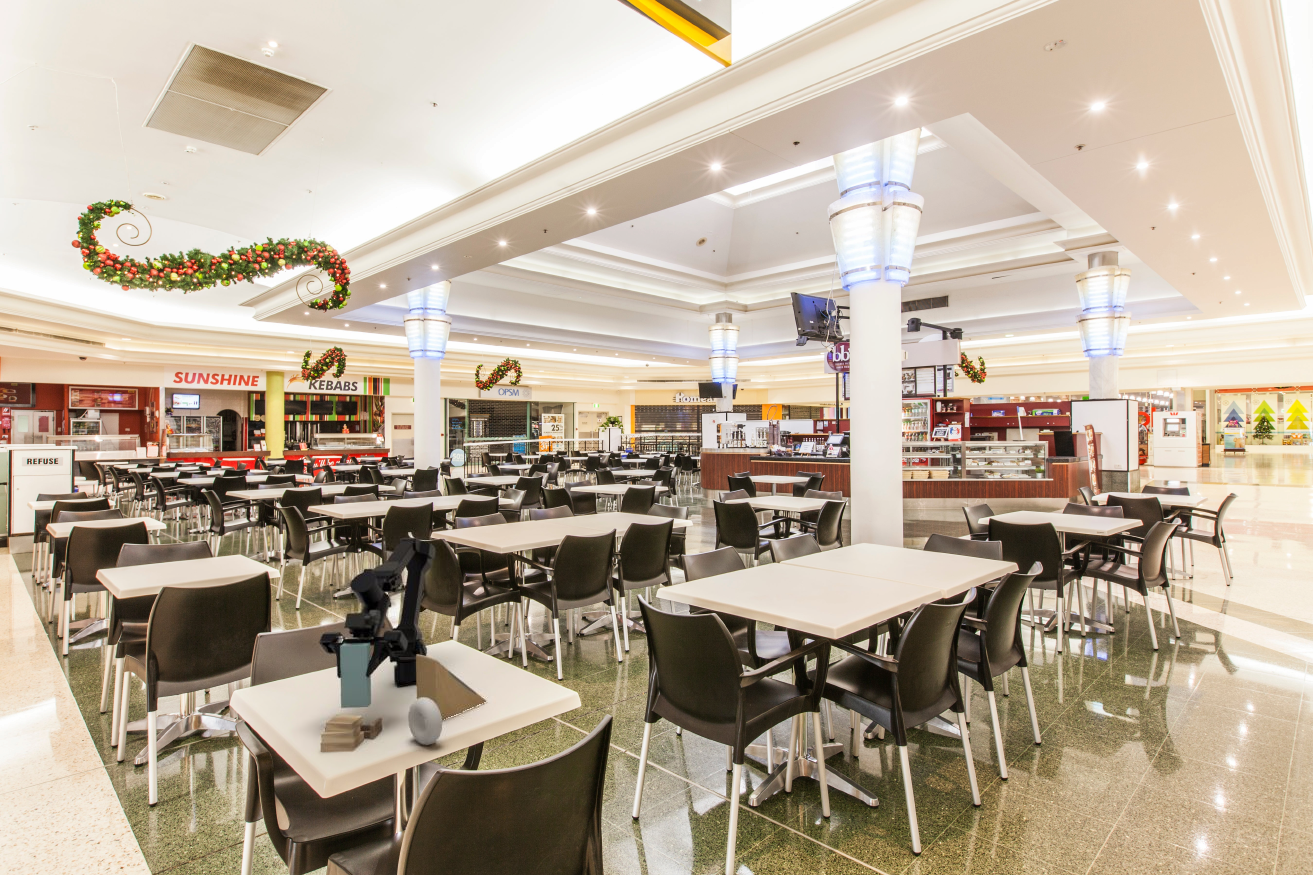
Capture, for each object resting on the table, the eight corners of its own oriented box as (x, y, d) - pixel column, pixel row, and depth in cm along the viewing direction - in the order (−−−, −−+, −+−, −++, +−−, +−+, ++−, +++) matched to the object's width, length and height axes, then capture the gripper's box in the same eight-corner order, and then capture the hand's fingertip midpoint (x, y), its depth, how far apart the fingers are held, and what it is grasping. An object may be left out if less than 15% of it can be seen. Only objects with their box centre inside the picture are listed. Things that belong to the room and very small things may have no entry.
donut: (405, 740, 140) (404, 695, 140) (419, 734, 143) (418, 690, 143) (432, 752, 134) (431, 705, 134) (446, 746, 137) (445, 700, 137)
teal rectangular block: (344, 704, 145) (343, 643, 145) (371, 703, 145) (370, 642, 146) (341, 707, 144) (340, 645, 144) (367, 707, 144) (366, 645, 144)
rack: (334, 731, 145) (334, 718, 145) (382, 730, 145) (382, 717, 146) (325, 740, 141) (325, 727, 141) (373, 739, 141) (373, 725, 141)
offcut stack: (332, 741, 141) (331, 715, 141) (364, 740, 141) (364, 714, 141) (319, 752, 135) (319, 725, 136) (352, 752, 135) (352, 724, 136)
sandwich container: (490, 702, 161) (489, 643, 161) (437, 724, 149) (436, 660, 149) (469, 695, 166) (468, 637, 166) (416, 715, 154) (415, 653, 154)
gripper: (322, 598, 148) (297, 661, 137) (402, 596, 149) (383, 659, 138) (339, 622, 156) (316, 683, 145) (415, 620, 157) (398, 681, 146)
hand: (352, 676), depth 143 cm, fingers closed on teal rectangular block, 6 cm apart
